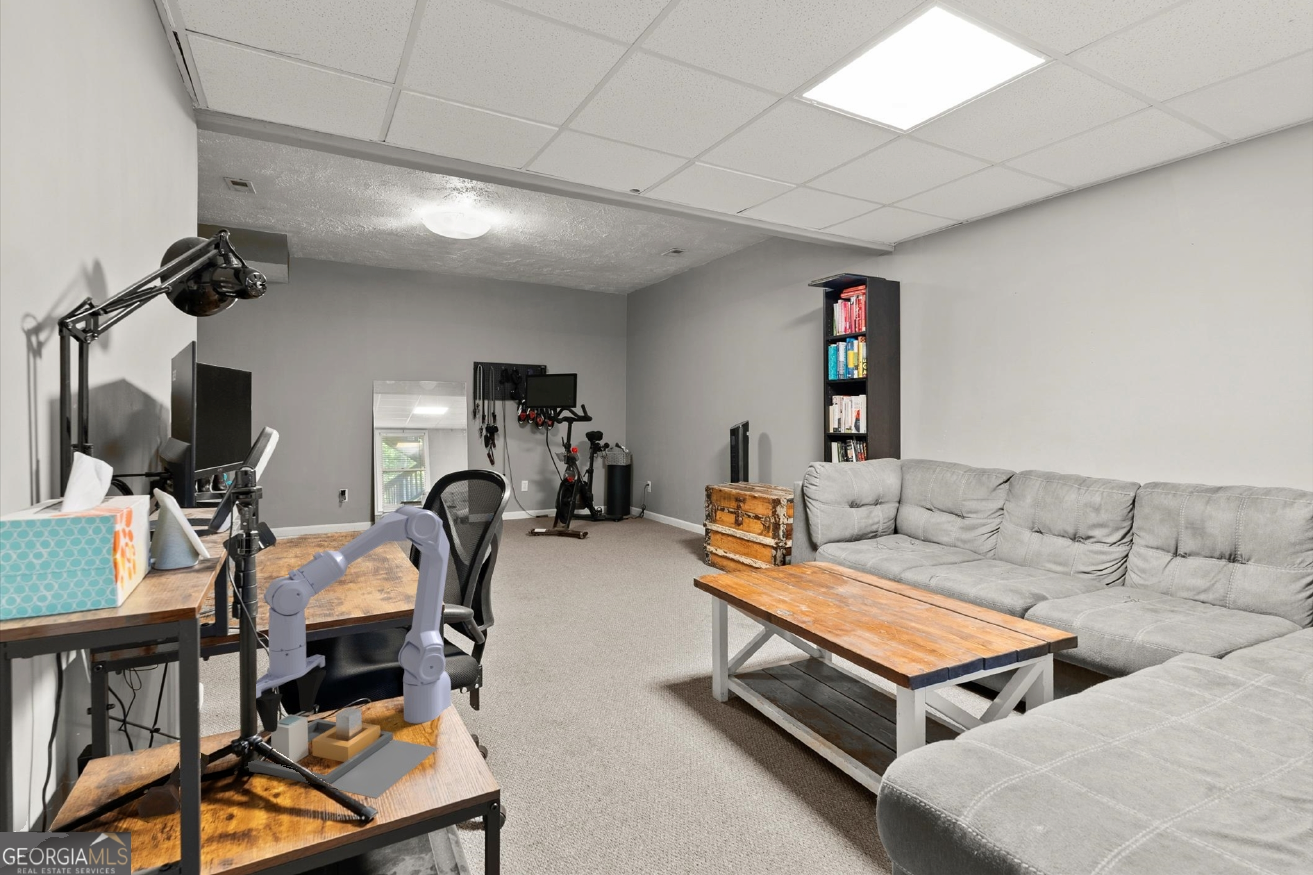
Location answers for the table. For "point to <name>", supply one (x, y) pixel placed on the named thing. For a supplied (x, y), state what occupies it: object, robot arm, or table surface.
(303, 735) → the block
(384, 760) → the lid
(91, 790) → the table surface
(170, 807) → the bolt
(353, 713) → the grey rectangular block
